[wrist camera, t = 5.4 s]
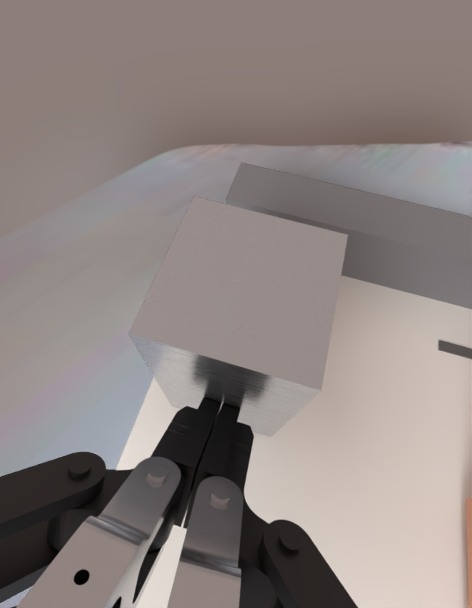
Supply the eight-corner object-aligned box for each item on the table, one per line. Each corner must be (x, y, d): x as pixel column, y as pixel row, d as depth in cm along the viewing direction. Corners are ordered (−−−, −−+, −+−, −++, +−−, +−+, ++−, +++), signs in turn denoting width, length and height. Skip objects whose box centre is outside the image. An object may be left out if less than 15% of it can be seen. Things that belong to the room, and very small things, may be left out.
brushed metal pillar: (271, 437, 16) (321, 390, 8) (171, 406, 17) (128, 333, 9) (292, 342, 19) (348, 234, 11) (204, 317, 19) (194, 196, 11)
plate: (616, 787, 13) (857, 970, 8) (77, 585, 15) (8, 634, 10) (540, 297, 23) (626, 246, 18) (225, 217, 25) (227, 153, 20)
